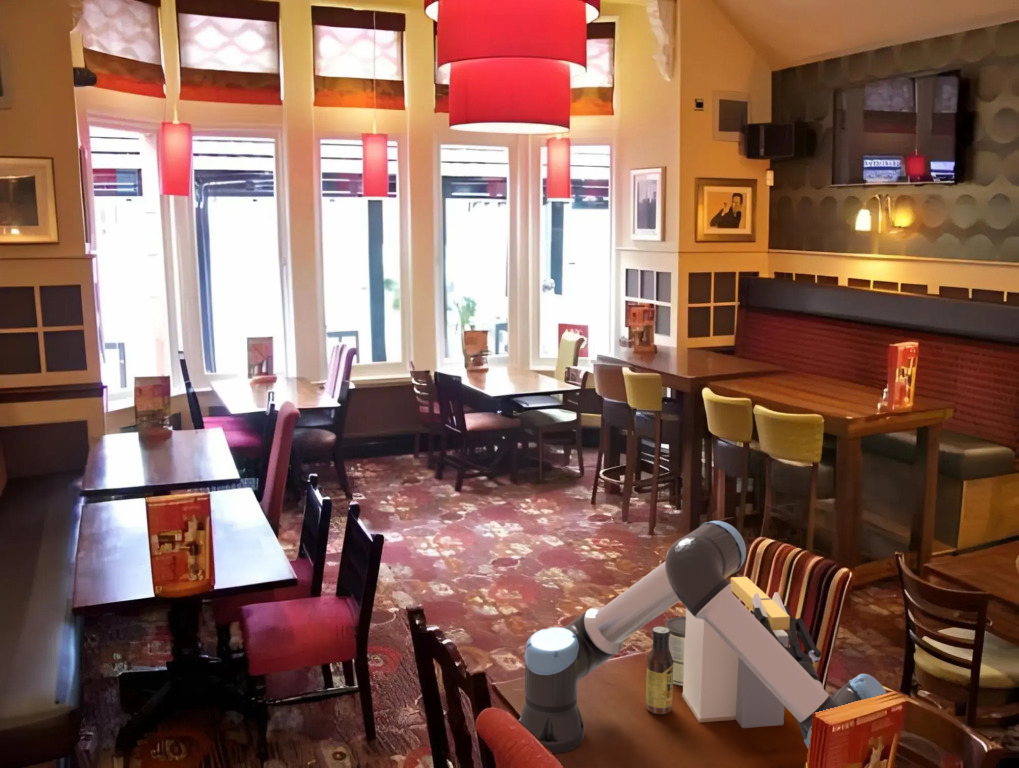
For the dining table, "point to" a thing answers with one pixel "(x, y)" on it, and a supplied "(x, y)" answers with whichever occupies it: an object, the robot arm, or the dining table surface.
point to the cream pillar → (709, 673)
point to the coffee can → (677, 647)
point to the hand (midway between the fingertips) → (764, 596)
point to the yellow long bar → (746, 593)
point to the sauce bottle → (659, 673)
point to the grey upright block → (757, 697)
